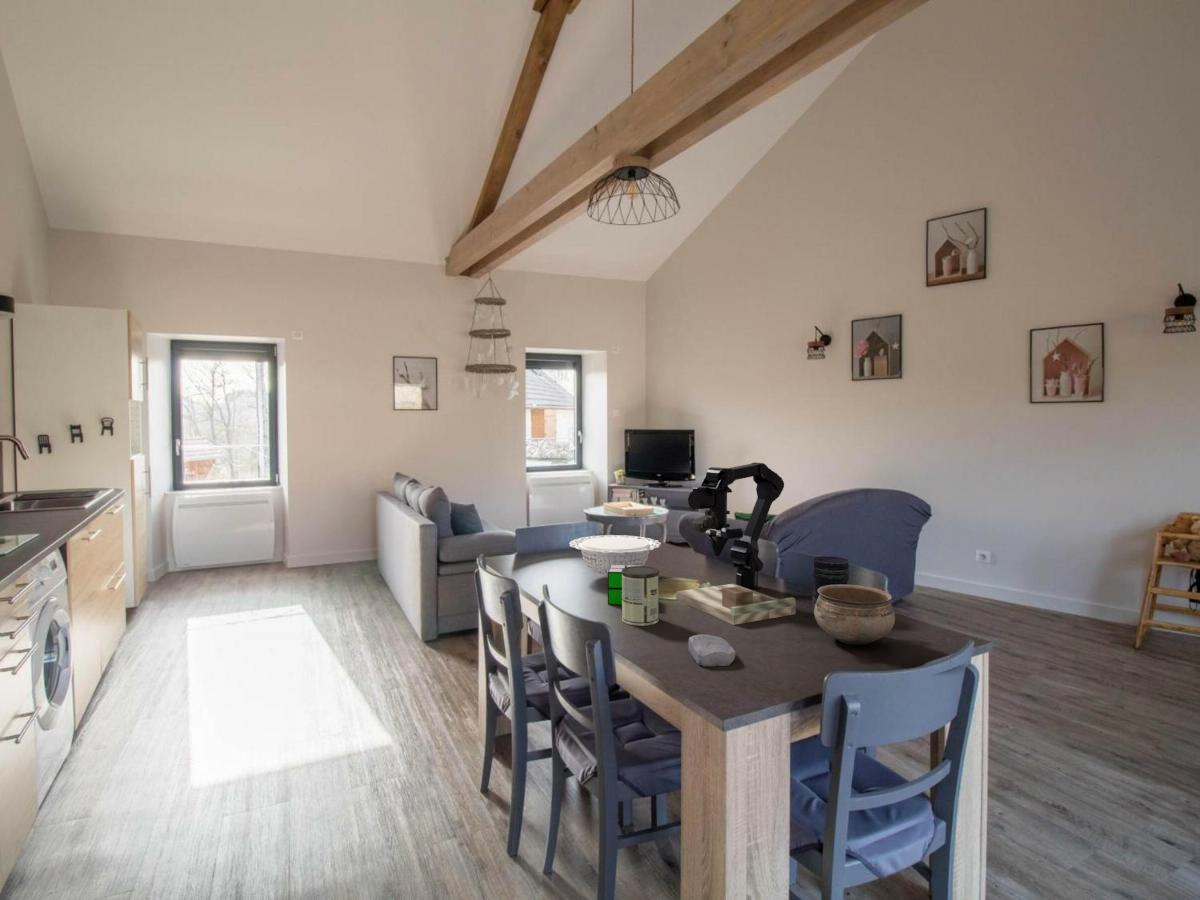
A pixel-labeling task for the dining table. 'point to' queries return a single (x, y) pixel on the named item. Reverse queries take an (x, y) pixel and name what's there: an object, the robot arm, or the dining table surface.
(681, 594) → the trap deck
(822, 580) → the storage jar
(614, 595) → the puzzle cube
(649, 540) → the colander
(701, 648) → the stone block
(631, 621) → the coffee can
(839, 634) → the cooking pot
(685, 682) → the dining table surface
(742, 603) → the walnut block
